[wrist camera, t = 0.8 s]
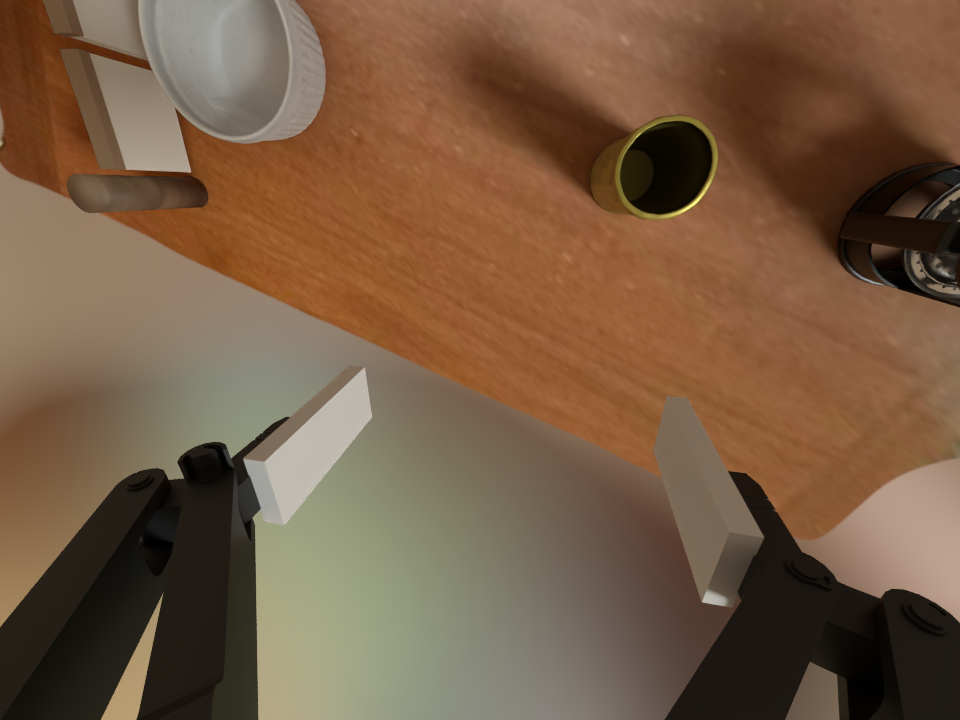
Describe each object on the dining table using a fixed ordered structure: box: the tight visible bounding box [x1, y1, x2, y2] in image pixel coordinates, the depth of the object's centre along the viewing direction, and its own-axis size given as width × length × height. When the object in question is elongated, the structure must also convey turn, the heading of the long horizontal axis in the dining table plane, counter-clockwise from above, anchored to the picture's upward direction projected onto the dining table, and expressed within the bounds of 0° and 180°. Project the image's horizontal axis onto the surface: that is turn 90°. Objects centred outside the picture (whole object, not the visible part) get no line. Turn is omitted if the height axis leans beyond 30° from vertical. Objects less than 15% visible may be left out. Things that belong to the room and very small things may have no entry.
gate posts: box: [67, 174, 208, 213], centre depth 32 cm, size 25×3×11 cm, turn 178°
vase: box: [590, 115, 718, 220], centre depth 27 cm, size 6×6×14 cm
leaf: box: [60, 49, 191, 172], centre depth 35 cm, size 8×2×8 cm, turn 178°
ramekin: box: [138, 0, 326, 143], centre depth 32 cm, size 13×13×7 cm
